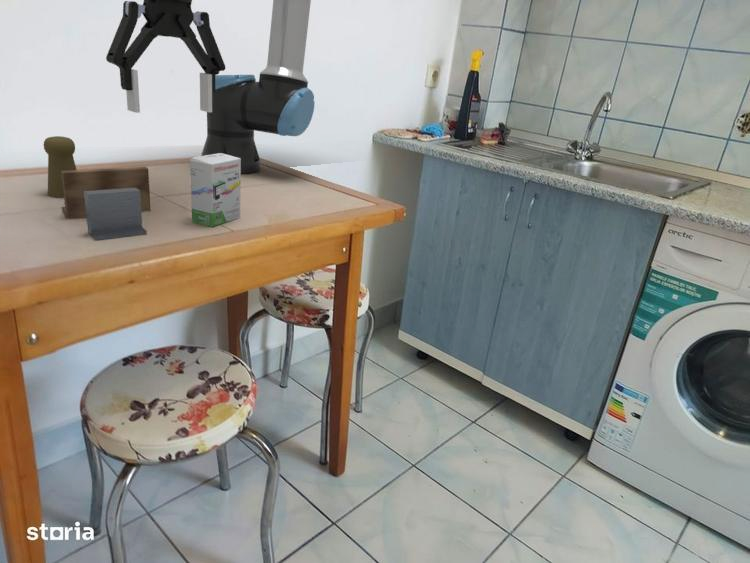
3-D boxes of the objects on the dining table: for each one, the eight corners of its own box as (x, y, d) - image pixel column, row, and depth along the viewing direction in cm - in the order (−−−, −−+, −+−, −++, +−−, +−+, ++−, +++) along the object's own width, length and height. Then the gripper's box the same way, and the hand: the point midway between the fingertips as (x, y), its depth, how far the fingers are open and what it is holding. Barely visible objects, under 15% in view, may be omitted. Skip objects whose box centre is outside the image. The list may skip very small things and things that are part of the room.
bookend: (138, 227, 93) (135, 187, 91) (146, 234, 91) (144, 193, 88) (88, 232, 89) (83, 191, 86) (95, 240, 86) (90, 197, 83)
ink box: (211, 228, 97) (211, 163, 93) (190, 222, 99) (188, 157, 94) (241, 217, 104) (242, 156, 100) (221, 212, 106) (220, 152, 101)
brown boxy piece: (142, 204, 105) (140, 163, 102) (150, 210, 102) (148, 168, 99) (62, 211, 97) (56, 166, 93) (68, 218, 94) (62, 172, 90)
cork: (74, 188, 110) (67, 133, 106) (88, 195, 107) (82, 139, 102) (42, 192, 106) (34, 134, 101) (55, 199, 102) (48, 140, 98)
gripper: (220, -15, 97) (220, 108, 105) (74, -43, 79) (88, 107, 87) (246, -14, 93) (244, 114, 101) (96, -44, 75) (109, 115, 83)
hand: (171, 111), depth 94 cm, fingers open, 13 cm apart
